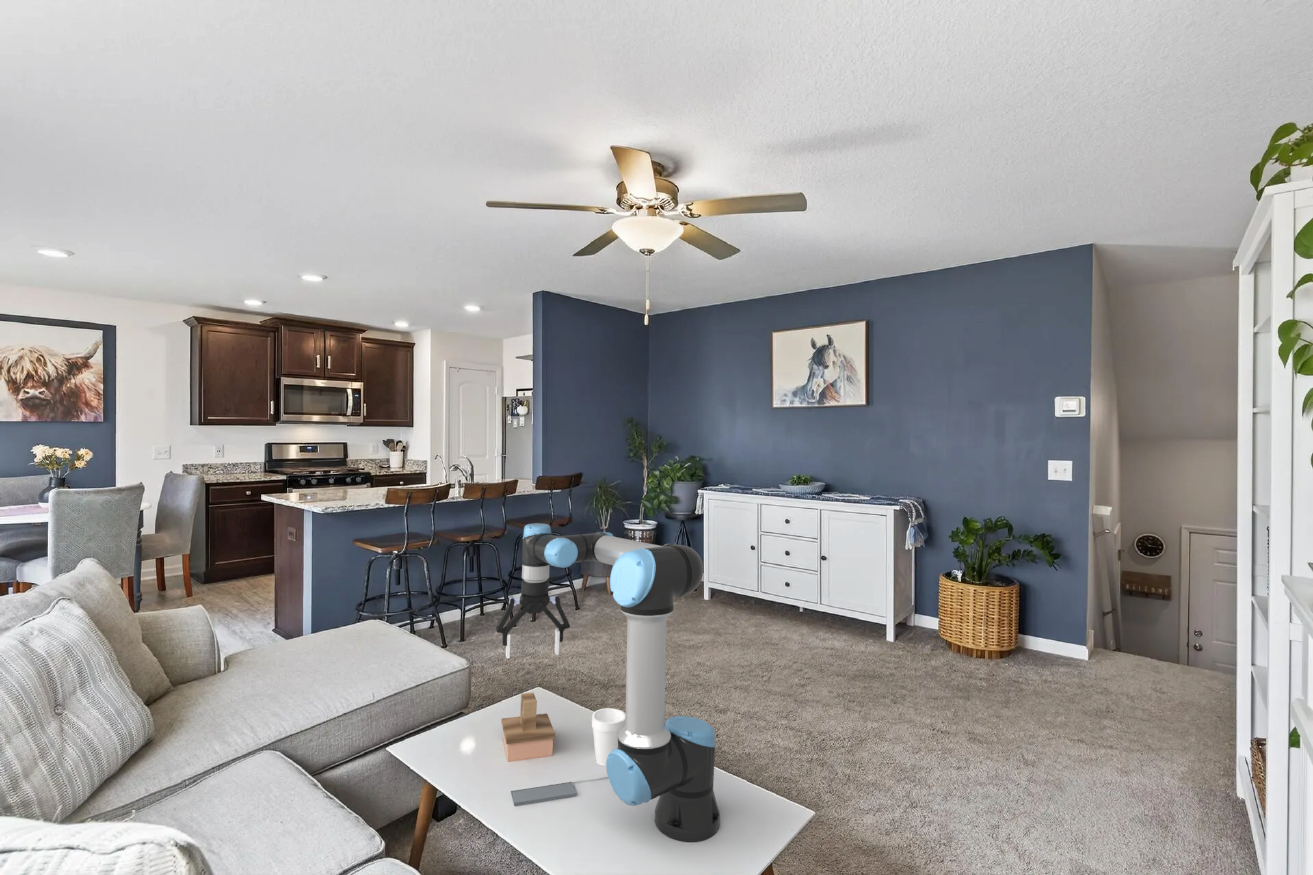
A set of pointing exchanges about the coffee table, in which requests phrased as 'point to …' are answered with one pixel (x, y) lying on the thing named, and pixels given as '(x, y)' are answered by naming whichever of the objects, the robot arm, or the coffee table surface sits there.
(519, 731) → the lid
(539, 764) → the coffee table surface
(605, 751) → the foam cup
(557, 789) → the mat
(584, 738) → the coffee table surface
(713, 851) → the coffee table surface
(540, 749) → the pink open box
